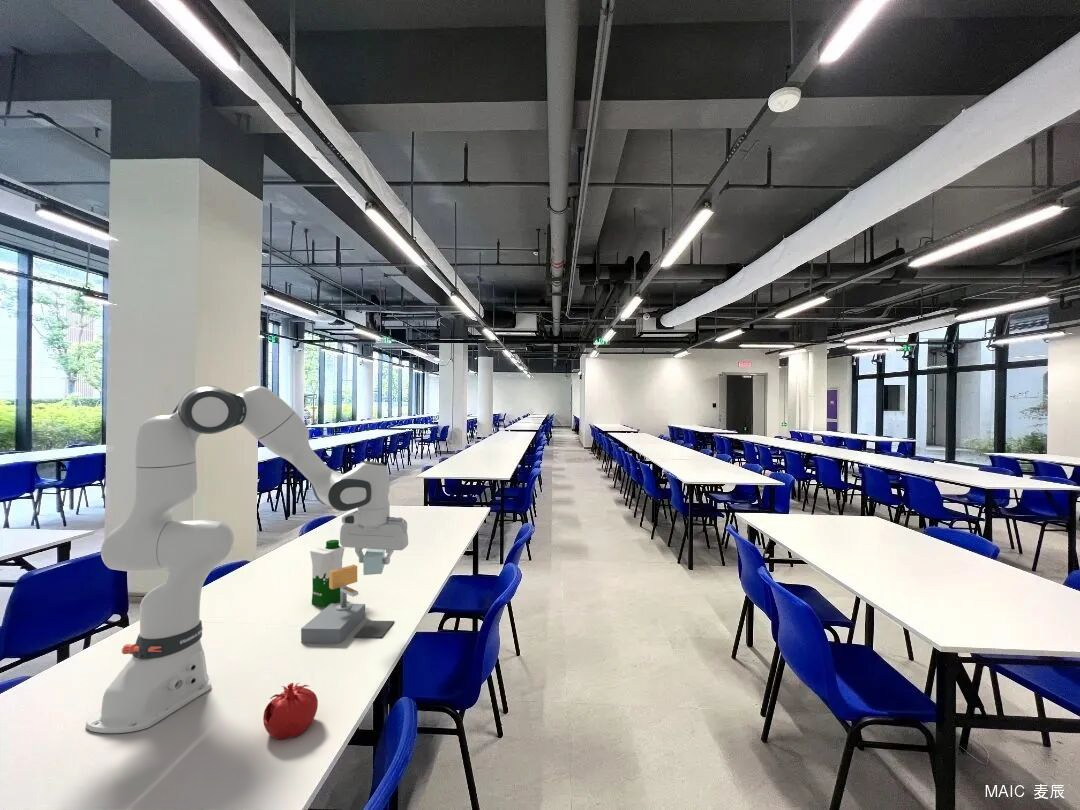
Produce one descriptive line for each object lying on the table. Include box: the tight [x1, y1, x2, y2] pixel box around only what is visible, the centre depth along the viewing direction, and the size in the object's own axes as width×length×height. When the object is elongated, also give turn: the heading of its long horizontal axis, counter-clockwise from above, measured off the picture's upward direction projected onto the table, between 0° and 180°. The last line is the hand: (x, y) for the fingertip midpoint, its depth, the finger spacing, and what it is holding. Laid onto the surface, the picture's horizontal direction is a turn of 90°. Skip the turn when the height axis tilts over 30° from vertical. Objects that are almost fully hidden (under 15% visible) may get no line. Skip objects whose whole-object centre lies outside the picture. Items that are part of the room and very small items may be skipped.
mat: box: [353, 620, 395, 639], centre depth 140 cm, size 10×8×1 cm
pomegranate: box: [262, 682, 319, 740], centre depth 98 cm, size 10×10×9 cm
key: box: [329, 564, 359, 608], centre depth 145 cm, size 8×8×12 cm
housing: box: [300, 602, 366, 644], centre depth 141 cm, size 17×11×4 cm, turn 177°
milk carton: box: [309, 539, 345, 609], centre depth 161 cm, size 9×9×20 cm
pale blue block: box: [362, 549, 386, 576], centre depth 141 cm, size 8×5×5 cm, turn 12°
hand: (374, 563), depth 141 cm, fingers closed on pale blue block, 6 cm apart
